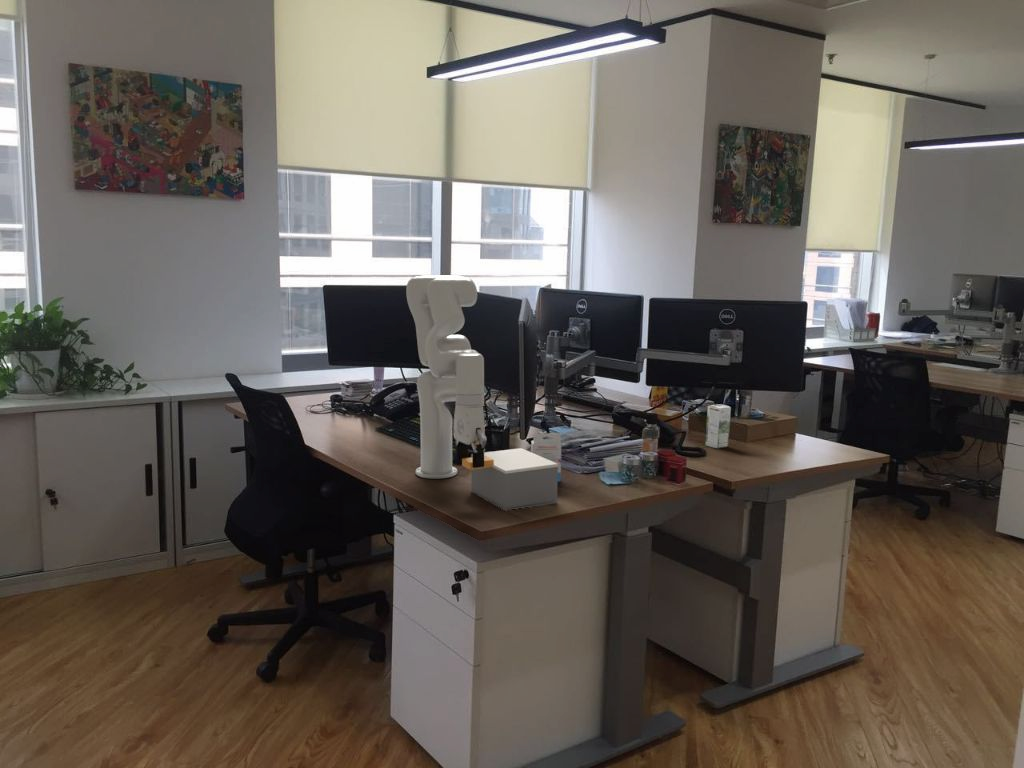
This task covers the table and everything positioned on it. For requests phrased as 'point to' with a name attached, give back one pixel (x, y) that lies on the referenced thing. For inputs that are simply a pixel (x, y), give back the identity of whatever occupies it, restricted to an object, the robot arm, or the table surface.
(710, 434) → the syrup box
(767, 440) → the table surface
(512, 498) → the carton
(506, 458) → the lid flap
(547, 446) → the ink box
